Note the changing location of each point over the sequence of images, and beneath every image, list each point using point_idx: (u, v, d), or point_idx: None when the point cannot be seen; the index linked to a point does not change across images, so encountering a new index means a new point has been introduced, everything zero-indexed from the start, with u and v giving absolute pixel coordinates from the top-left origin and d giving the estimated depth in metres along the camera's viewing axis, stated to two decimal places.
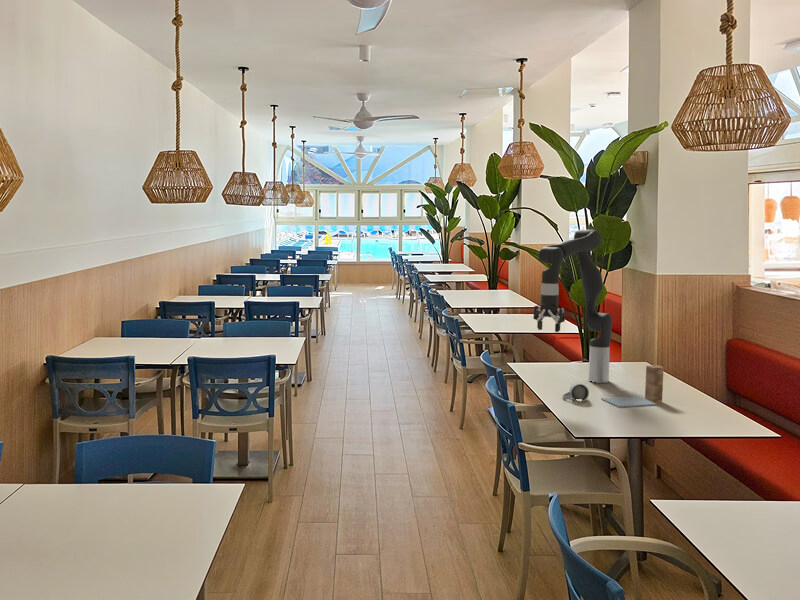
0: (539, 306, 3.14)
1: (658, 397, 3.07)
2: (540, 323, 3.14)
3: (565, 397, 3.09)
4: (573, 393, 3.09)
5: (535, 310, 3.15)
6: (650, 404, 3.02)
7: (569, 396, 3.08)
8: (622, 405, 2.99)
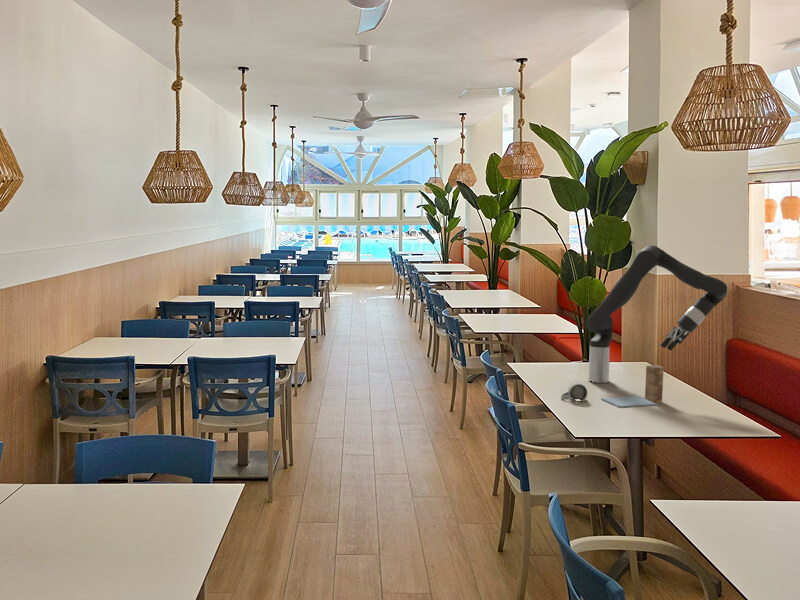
0: None
1: (658, 397, 3.07)
2: None
3: (564, 397, 3.09)
4: (572, 393, 3.09)
5: None
6: (650, 404, 3.02)
7: (568, 396, 3.08)
8: (622, 405, 2.99)
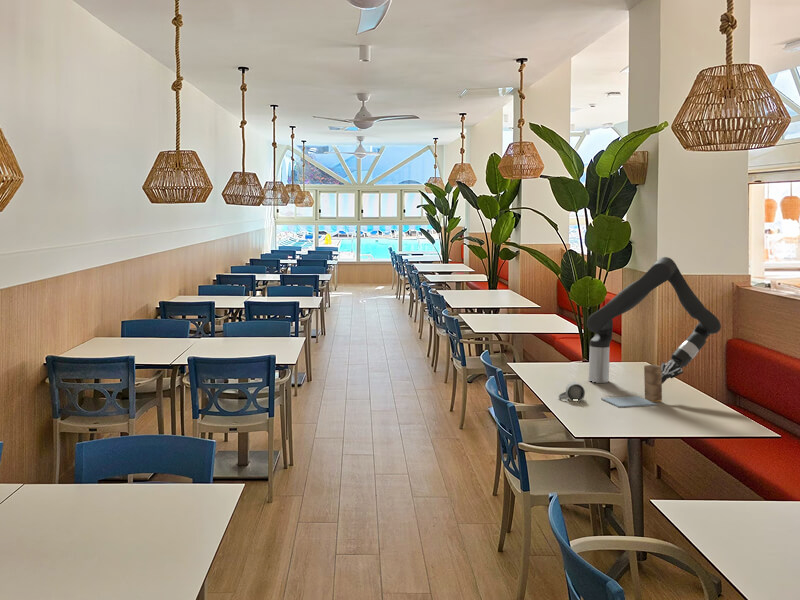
0: (681, 368, 3.06)
1: (658, 396, 3.07)
2: None
3: (561, 397, 3.09)
4: (569, 393, 3.09)
5: None
6: (650, 404, 3.02)
7: (565, 396, 3.08)
8: (622, 405, 2.99)
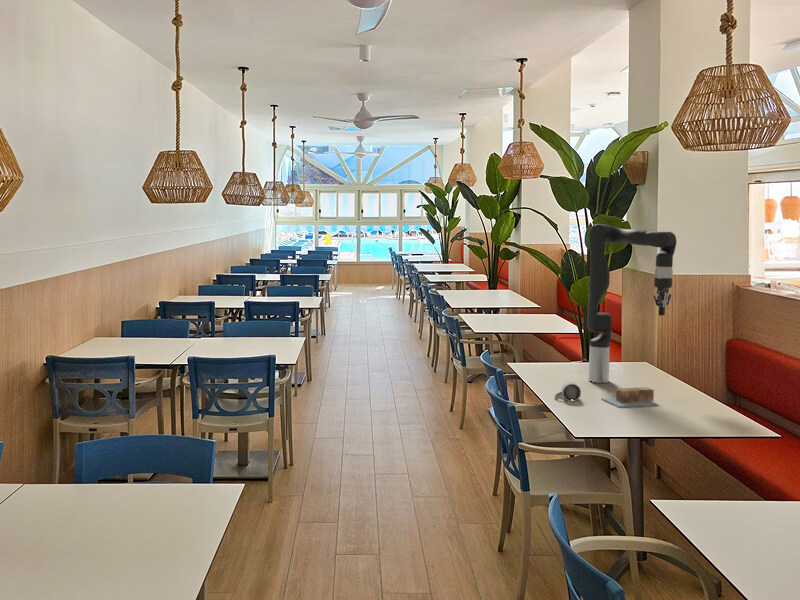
0: (658, 293, 3.18)
1: (649, 393, 3.06)
2: None
3: (557, 397, 3.10)
4: (565, 393, 3.09)
5: (660, 299, 3.17)
6: (650, 404, 3.02)
7: (561, 396, 3.09)
8: (622, 405, 2.99)
